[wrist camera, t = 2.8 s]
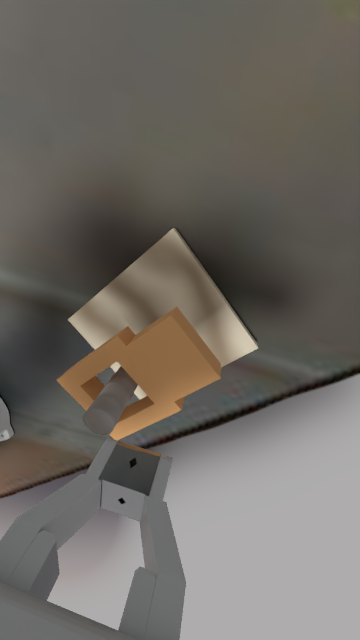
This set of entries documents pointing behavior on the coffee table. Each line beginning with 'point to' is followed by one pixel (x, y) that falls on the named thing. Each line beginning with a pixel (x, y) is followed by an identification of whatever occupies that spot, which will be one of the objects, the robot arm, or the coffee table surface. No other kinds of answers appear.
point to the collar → (148, 370)
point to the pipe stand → (157, 317)
